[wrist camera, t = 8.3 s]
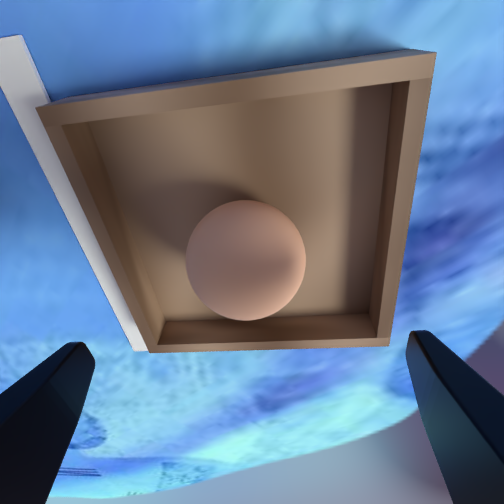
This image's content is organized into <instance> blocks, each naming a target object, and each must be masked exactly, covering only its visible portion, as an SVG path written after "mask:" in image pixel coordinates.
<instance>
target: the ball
mask: <svg viewBox="0 0 504 504" xmlns="http://www.w3.org/2000/svg"><path fill="white" fill-rule="evenodd" d="M305 267H306V254H305V247H304V244H303V240H302V238H301V235H300V233H299V231H298V230H297V228H296V227H295V225H294V224H293V222H292V221H291V220H290V219H289V218H288V217H287V216H286V215H285V214H283V213H282V212H281V211H280V210H278V209H276V208H275V207H273V206H271V205H268V204H266V203H263V202H258V201H252V200H239V201H232V202H229V203H226V204H223V205H221V206H219V207H217V208H215V209H214V210H212V211H210V212H209V213H208V214H207V215H205V216H204V218H203V219H202V220H201V221H200V222H199V223H198V224H197V226H196V227H195V229H194V230H193V232H192V234H191V236H190V239H189V242H188V246H187V249H186V271H187V275H188V279H189V282H190V284H191V286H192V288H193V290H194V292H195V294H196V295H197V296H198V297H199V299H200V300H201V301H202V302H203V303H204V304H205V305H206V306H207V307H208V308H210V309H211V310H213V311H214V312H216V313H218V314H220V315H222V316H224V317H227V318H230V319H235V320H257V319H261V318H264V317H267V316H269V315H272V314H274V313H276V312H277V311H279V310H280V309H282V308H283V307H284V306H285V305H287V304H288V303H289V302H290V301H291V299H292V298H293V297H294V295H295V294H296V293H297V291H298V289H299V287H300V285H301V283H302V280H303V277H304V272H305Z"/></svg>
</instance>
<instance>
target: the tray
mask: <svg viewBox="0 0 504 504" xmlns="http://www.w3.org/2000/svg"><path fill="white" fill-rule="evenodd" d="M436 54H437V52H430V51H423V50H416V49H407V50H400V51H393V52H386V53H379V54H372V55H364V56H357V57H350V58H343V59H336V60H329V61H321V62H314V63H307V64H300V65H293V66H286V67H279V68H271V69H264V70H257V71H250V72H243V73H236V74H228V75H221V76H214V77H207V78H200V79H193V80H185V81H178V82H171V83H164V84H157V85H150V86H143V87H135V88H128V89H121V90H114V91H107V92H100V93H92V94H85V95H78V96H71V97H66V98H63V99H60V100H57V101H54V102H51V103H48V104H45V105H41V106H38V107H35V109H36V111H37V113H38V115H39V117H40V119H41V122H42V124H43V126H44V128H45V130H46V132H47V134H48V137H49V139H50V141H51V143H52V145H53V147H54V150H55V152H56V154H57V156H58V158H59V160H60V162H61V165H62V167H63V169H64V171H65V173H66V175H67V177H68V180H69V182H70V184H71V186H72V188H73V190H74V192H75V195H76V197H77V199H78V201H79V203H80V205H81V207H82V210H83V212H84V214H85V216H86V218H87V220H88V222H89V225H90V227H91V229H92V231H93V233H94V235H95V237H96V240H97V242H98V244H99V246H100V248H101V250H102V252H103V255H104V257H105V259H106V261H107V263H108V265H109V267H110V270H111V272H112V274H113V276H114V278H115V280H116V282H117V285H118V287H119V289H120V291H121V293H122V295H123V297H124V300H125V302H126V304H127V306H128V308H129V310H130V312H131V315H132V317H133V319H134V321H135V323H136V325H137V327H138V330H139V332H140V334H141V336H142V338H143V340H144V342H145V345H146V347H147V349H148V351H149V353H171V352H206V351H240V350H275V349H309V348H344V347H378V346H389V343H390V337H391V330H392V324H393V318H394V312H395V306H396V300H397V293H398V287H399V281H400V275H401V269H402V263H403V257H404V250H405V244H406V238H407V232H408V226H409V220H410V214H411V207H412V201H413V195H414V189H415V183H416V177H417V170H418V164H419V158H420V152H421V146H422V140H423V134H424V127H425V121H426V115H427V109H428V103H429V97H430V91H431V84H432V78H433V72H434V66H435V60H436ZM239 200H252V201H258V202H263V203H266V204H268V205H271V206H273V207H275V208H276V209H278V210H280V211H281V212H282V213H283V214H285V215H286V216H287V217H288V218H289V219H290V220H291V221H292V222H293V224H294V225H295V227H296V228H297V230H298V231H299V233H300V235H301V238H302V240H303V244H304V247H305V254H306V267H305V272H304V277H303V280H302V283H301V285H300V287H299V289H298V291H297V293H296V294H295V295H294V297H293V298H292V299H291V301H290V302H289V303H288V304H287V305H285V306H284V307H283V308H282V309H280V310H279V311H277V312H276V313H274V314H272V315H269V316H267V317H264V318H261V319H257V320H235V319H230V318H227V317H224V316H222V315H220V314H218V313H216V312H214V311H213V310H211V309H210V308H208V307H207V306H206V305H205V304H204V303H203V302H202V301H201V300H200V299H199V297H198V296H197V295H196V294H195V292H194V290H193V288H192V286H191V284H190V282H189V279H188V275H187V271H186V249H187V246H188V242H189V239H190V236H191V234H192V232H193V230H194V229H195V227H196V226H197V224H198V223H199V222H200V221H201V220H202V219H203V218H204V216H205V215H207V214H208V213H209V212H210V211H212V210H214V209H215V208H217V207H219V206H221V205H223V204H226V203H229V202H232V201H239Z"/></svg>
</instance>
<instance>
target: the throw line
mask: <svg viewBox="0 0 504 504" xmlns="http://www.w3.org/2000/svg"><path fill="white" fill-rule="evenodd" d="M0 86H1V88H2V90H3V92H4V94H5V96H6V98H7V100H8V102H9V104H10V106H11V108H12V110H13V112H14V114H15V116H16V118H17V120H18V122H19V124H20V126H21V128H22V130H23V132H24V134H25V136H26V138H27V140H28V142H29V144H30V146H31V148H32V150H33V152H34V154H35V156H36V158H37V160H38V162H39V164H40V166H41V168H42V170H43V172H44V174H45V176H46V178H47V179H48V181H49V183H50V185H51V187H52V189H53V191H54V193H55V195H56V197H57V199H58V201H59V203H60V205H61V207H62V209H63V211H64V213H65V215H66V217H67V219H68V221H69V223H70V225H71V227H72V229H73V231H74V233H75V235H76V237H77V239H78V241H79V243H80V245H81V247H82V249H83V251H84V253H85V255H86V257H87V259H88V261H89V263H90V265H91V267H92V269H93V271H94V273H95V275H96V277H97V279H98V281H99V283H100V285H101V287H102V289H103V291H104V293H105V294H106V296H107V298H108V300H109V302H110V304H111V306H112V308H113V310H114V312H115V314H116V316H117V318H118V320H119V322H120V324H121V326H122V328H123V330H124V332H125V334H126V336H127V338H128V340H129V342H130V344H131V346H132V348H133V350H134V351H148V349H147V347H146V345H145V342H144V340H143V338H142V336H141V334H140V332H139V330H138V327H137V325H136V323H135V321H134V319H133V317H132V315H131V312H130V310H129V308H128V306H127V304H126V302H125V300H124V297H123V295H122V293H121V291H120V289H119V287H118V285H117V282H116V280H115V278H114V276H113V274H112V272H111V270H110V267H109V265H108V263H107V261H106V259H105V257H104V255H103V252H102V250H101V248H100V246H99V244H98V242H97V240H96V237H95V235H94V233H93V231H92V229H91V227H90V225H89V222H88V220H87V218H86V216H85V214H84V212H83V210H82V207H81V205H80V203H79V201H78V199H77V197H76V195H75V192H74V190H73V188H72V186H71V184H70V182H69V180H68V177H67V175H66V173H65V171H64V169H63V167H62V165H61V162H60V160H59V158H58V156H57V154H56V152H55V150H54V147H53V145H52V143H51V141H50V139H49V137H48V134H47V132H46V130H45V128H44V126H43V124H42V122H41V119H40V117H39V115H38V113H37V111H36V109H35V107H38V106H41V105H45V104H48V103H51V100H50V98H49V96H48V94H47V91H46V89H45V87H44V84H43V82H42V80H41V78H40V75H39V73H38V71H37V68H36V66H35V64H34V62H33V59H32V57H31V55H30V52H29V50H28V48H27V46H26V43H25V41H24V39H23V36H22V35H16V36H10V37H4V38H0Z"/></svg>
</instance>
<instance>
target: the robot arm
mask: <svg viewBox="0 0 504 504" xmlns="http://www.w3.org/2000/svg"><path fill="white" fill-rule="evenodd" d="M406 361H407V365H408V369H409V373H410V376H411V380H412V384H413V388H414V392H415V396H416V400H417V404H418V408H419V411H420V415H421V419H422V421H423V424H424V427H425V430H426V433H427V435H428V438H429V441H430V443H431V446H432V449H433V451H434V454H435V457H436V459H437V462H438V464H439V467H440V470H441V473H442V475H443V478H444V480H445V483H446V486H447V488H448V491H449V494H450V496H451V499H452V501H453V504H504V395H503V394H502V393H500V392H499V391H498V390H497V389H495V387H493V386H492V385H491V384H490V383H489V382H488V381H486V380H485V379H484V378H483V377H482V376H481V375H479V374H478V373H477V372H476V371H475V370H473V369H472V368H471V367H470V366H469V365H468V364H467V363H466V362H464V361H463V360H462V359H461V358H460V357H459V356H457V355H456V354H455V353H454V352H453V351H452V350H451V349H449V348H448V347H447V346H446V345H445V344H444V343H442V342H441V341H440V340H439V339H438V338H437V337H435V336H434V335H433V334H432V333H431V332H429V331H427V330H419V331H411V332H410V334H409V338H408V343H407V348H406ZM94 369H95V359H94V357H93V356H92V354H91V352H90V351H89V349H88V348H87V346H86V344H85V343H83V342H69V343H67V344H65V345H64V346H63V347H61V348H60V349H59V350H57V351H56V352H55V353H53V354H52V355H51V356H50V357H48V358H47V359H46V360H44V361H43V362H42V363H40V364H39V365H38V366H36V367H35V368H34V369H33V370H31V371H30V372H29V373H27V374H26V375H25V376H23V377H22V378H21V379H19V380H18V381H17V382H16V383H14V384H13V385H12V386H10V387H9V388H8V389H6V390H5V391H4V392H2V393H1V394H0V504H45V503H46V501H47V498H48V496H49V493H50V491H51V488H52V486H53V483H54V481H55V478H56V476H57V474H58V471H59V469H60V466H61V464H62V461H63V459H64V456H65V454H66V451H67V449H68V446H69V444H70V441H71V439H72V436H73V434H74V432H75V429H76V426H77V424H78V421H79V418H80V415H81V412H82V409H83V406H84V402H85V399H86V396H87V392H88V389H89V386H90V382H91V379H92V376H93V372H94Z"/></svg>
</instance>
